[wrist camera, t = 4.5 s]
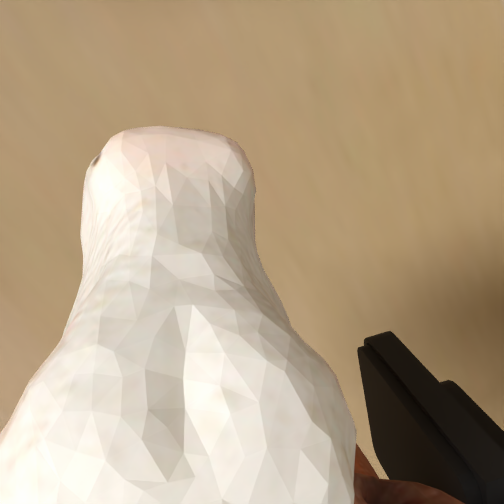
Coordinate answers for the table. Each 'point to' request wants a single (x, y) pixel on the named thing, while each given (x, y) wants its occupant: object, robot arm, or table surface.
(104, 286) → the bull figurine
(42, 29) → the table surface
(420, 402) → the robot arm
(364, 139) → the table surface
